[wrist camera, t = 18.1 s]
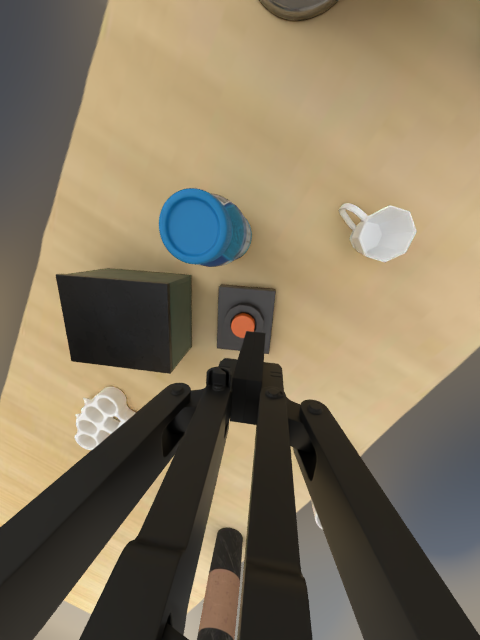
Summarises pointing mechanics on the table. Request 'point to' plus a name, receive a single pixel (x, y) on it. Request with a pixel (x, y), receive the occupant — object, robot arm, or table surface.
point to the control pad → (248, 302)
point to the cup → (380, 231)
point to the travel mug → (222, 588)
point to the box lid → (117, 321)
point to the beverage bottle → (203, 228)
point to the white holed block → (101, 417)
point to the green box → (178, 303)
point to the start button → (242, 324)
